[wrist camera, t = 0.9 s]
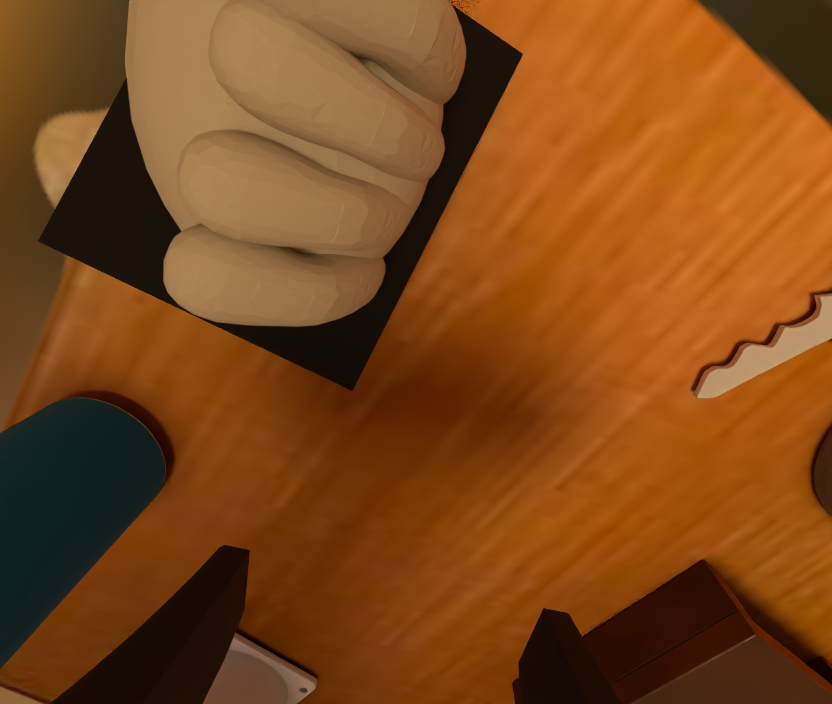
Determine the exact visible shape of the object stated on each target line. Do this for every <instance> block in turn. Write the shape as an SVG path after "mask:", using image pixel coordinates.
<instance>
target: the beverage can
mask: <svg viewBox="0 0 832 704" xmlns="http://www.w3.org/2000/svg"><path fill="white" fill-rule="evenodd" d="M165 476H166V464H165V459H164V456H163V453H162V450H161V448H160V446H159V444H158V442H157V441H156V439H155V438H154V436H153V435H152V433H151V432H150V431H149V430H148V428H147V427H146V426H145V425H144V424H143V423H142V422H141V421H139V420H138V419H137V418H136V417H134V416H133V415H131V414H130V413H128V412H126V411H125V410H123V409H121V408H119V407H117V406H115V405H112V404H110V403H107V402H104V401H101V400H97V399H91V398H81V397H80V398H68V399H63V400H60V401H57V402H54V403H52V404H51V405H49V406H47V407H45V408H43V409H42V410H40V411H38V412H36V413H35V414H33V415H31V416H29V417H28V418H26V419H24V420H22V421H21V422H19V423H17V424H15V425H14V426H12V427H10V428H8V429H7V430H5V431H3V432H1V433H0V669H1V668H2V667H3V666H4V664H5V663H6V662H7V661H8V660H9V659H10V658H11V657H12V656H13V654H14V653H15V652H16V651H17V650H18V649H19V648H20V647H21V646H22V644H23V643H24V642H25V641H26V640H27V639H28V638H29V637H30V636H31V634H32V633H33V632H34V631H35V630H36V629H37V628H38V627H39V626H40V624H41V623H42V622H43V621H44V620H45V619H46V618H47V617H48V616H49V615H50V613H51V612H52V611H53V610H54V609H55V608H56V607H57V606H58V605H59V603H60V602H61V601H62V600H63V599H64V598H65V597H66V596H67V595H68V593H69V592H70V591H71V590H72V589H73V588H74V587H75V586H76V585H77V583H78V582H79V581H80V580H81V579H82V578H83V577H84V576H85V575H86V573H87V572H88V571H89V570H90V569H91V568H92V567H93V566H94V565H95V563H96V562H97V561H98V560H99V559H100V558H101V557H102V556H103V555H104V554H105V552H106V551H107V550H108V549H109V548H110V547H111V546H112V545H113V544H114V542H115V541H116V540H117V539H118V538H119V537H120V536H121V535H122V534H123V532H124V531H125V530H126V529H127V528H128V527H129V526H130V525H131V524H132V522H133V521H134V520H135V519H136V518H137V517H138V516H139V515H140V514H141V512H142V511H143V510H144V509H145V508H146V507H147V506H148V505H149V504H150V502H151V501H152V500H153V499H154V498H155V497H156V496H157V494H158V493H159V492H160V490H161V488H162V486H163V484H164V481H165Z"/></svg>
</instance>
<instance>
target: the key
mask: <svg viewBox="0 0 832 704" xmlns="http://www.w3.org/2000/svg"><path fill="white" fill-rule="evenodd" d="M814 298H815V300H816V309H815V312H814V314H813V315H812V316H810V317H809V318H808V319H806V320H804V321H802V322H800V323H798V324H795V325H790V326H783V325H780V326H779V328H778V330H777V332H776V334H775V336H774V338H773V340H772V341H771V343H770V344H768V345H760V344H753V343H745V344H743V345H742V346H740V347H739V349H738V351H737V353H736V355H735V356H734V358H733V359H732V361H731V362H730V363H729V364H727V365H725V366H712V367H711V368H709V369H707V370H706V371H704V373H703V375H702V377H701V379H700V381H699V384H698V386H697V388H696V390H695V392H694V396H696V397H697V398H715V397H717V396H719V395H721V394H723V393H725V392H727V391H728V390H730V389H732V388H734V387H736V386H738V385H740V384H742V383H744V382H746V381H748V380H750V379H752V378H753V377H755V376H757V375H759V374H761V373H763V372H765V371H767V370H769V369H771V368H773V367H775V366H777V365H779V364H781V363H783V362H785V361H787V360H789V359H790V358H792V357H794V356H796V355H798V354H800V353H802V352H804V351H806V350H808V349H810V348H812V347H814V346H816V345H818V344H820V343H823V342H825V341H827V340H829V339H832V293H829V294H820V295H814Z"/></svg>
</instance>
